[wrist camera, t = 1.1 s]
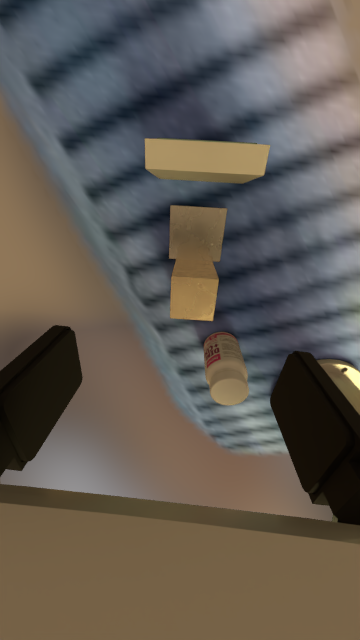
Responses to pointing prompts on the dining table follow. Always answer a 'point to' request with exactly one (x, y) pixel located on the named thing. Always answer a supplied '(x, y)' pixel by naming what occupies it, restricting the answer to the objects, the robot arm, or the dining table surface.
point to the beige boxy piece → (195, 260)
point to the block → (205, 160)
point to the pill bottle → (225, 369)
